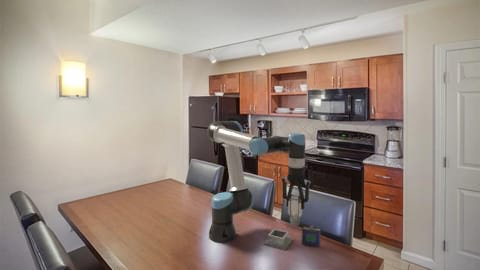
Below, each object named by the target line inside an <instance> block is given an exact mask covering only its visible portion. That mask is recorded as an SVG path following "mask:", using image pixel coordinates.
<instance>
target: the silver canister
mask: <svg viewBox="0 0 480 270" xmlns="http://www.w3.org/2000/svg"><path fill="white" fill-rule="evenodd" d="M290 199H291V202H290V214H289V224H290V225H291V226H294V227H295V226H296V227H297V226H298V227H299V226H300V223H301V216H299V203H300V202H301V199H300V194H299V193H291V196H290Z"/></svg>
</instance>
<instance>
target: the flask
mask: <svg viewBox="0 0 480 270" xmlns="http://www.w3.org/2000/svg"><path fill="white" fill-rule="evenodd" d="M301 228H302V229H301V231H302V232H301V233H302V235H301V246H304V247H313V248H320V247H321V229H320V228H314V225H313V224H312V225H310V226H309V227H307V226H304V227H301Z"/></svg>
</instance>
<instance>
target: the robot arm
mask: <svg viewBox="0 0 480 270" xmlns="http://www.w3.org/2000/svg"><path fill="white" fill-rule="evenodd" d="M206 134H207V137H208V139H209V140H211V141H213V142H215V143H218V144H221V146H223V147H224V151H225V158H226V166H227V169H228V170H227V171H228V177H229V183H230V188H229V189H228V191H224V192H218V193H216V194H214V195H213V197H212V199H211V224H210V228H209V231H208V238H209V239H210V240H211V241H212V242H216V243H227V242H231V241H232V240H235V238H236V237H237V230H236V228H235V224H234V216H235V215H238V214H241V213H242V212H247V211H248V210H250V209H252V208H253V206H254V203H255V196H254V193H253V192H252V191H251V190H250V189H249V187H248V185H247V184H246V182H245V181H246V180H245V175H244V169H243V163H242V156H241V150H240V148H241V149H243V150H247V151H250V152H251V153H252V155H254V156H264V155H267V154H273V153H280V152H281V153H287V154H288V168H287V176H286V177H285V176H284V177H282V178H281V181H282V199H284V200H286V207H287V214H288V215H290V202H291V198H290V196H291V194H293V193H292V192H293V189H294V187H297V189H298V194H299V195H300V203H299V216H300V217H301V216H302V215H303V210H304V209H305V205H306V203H308V202H309V199H310V185H311V183H312V181H311V180H308V179H306V177H305V170H306V169H305V165H306V158H305V157H306V144H307V143H306V135H305V134H303V133H295V132H294V133H289V135H288V136H287V137H286V136H279V135H271V136H269V137H261V136H257V135H253V134H249V133H244V129H243V126H242V124H240V123H239V121H235V120H223V121H218V120H217V121H213V122H212V123H210V124H209V125H208V127H207V130H206ZM288 182H289V187H288ZM303 184H304V185H305V188H304V189H305V190H304V189H303ZM304 191H305V192H304Z"/></svg>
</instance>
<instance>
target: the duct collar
mask: <svg viewBox="0 0 480 270" xmlns="http://www.w3.org/2000/svg"><path fill="white" fill-rule="evenodd" d="M289 234H290V231H286V230H281V229H276V228H273V229H272V230H271V231H270V232H269V233H268V235H267V239H266V240H265V241H263V246H269V247H271V248H276V249H280V250H282V251H283V250H284V251H287V249H288V248H289V246H290V244H291V243H292V241H294V240H293V239H294V238H291V237H290V235H289Z"/></svg>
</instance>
